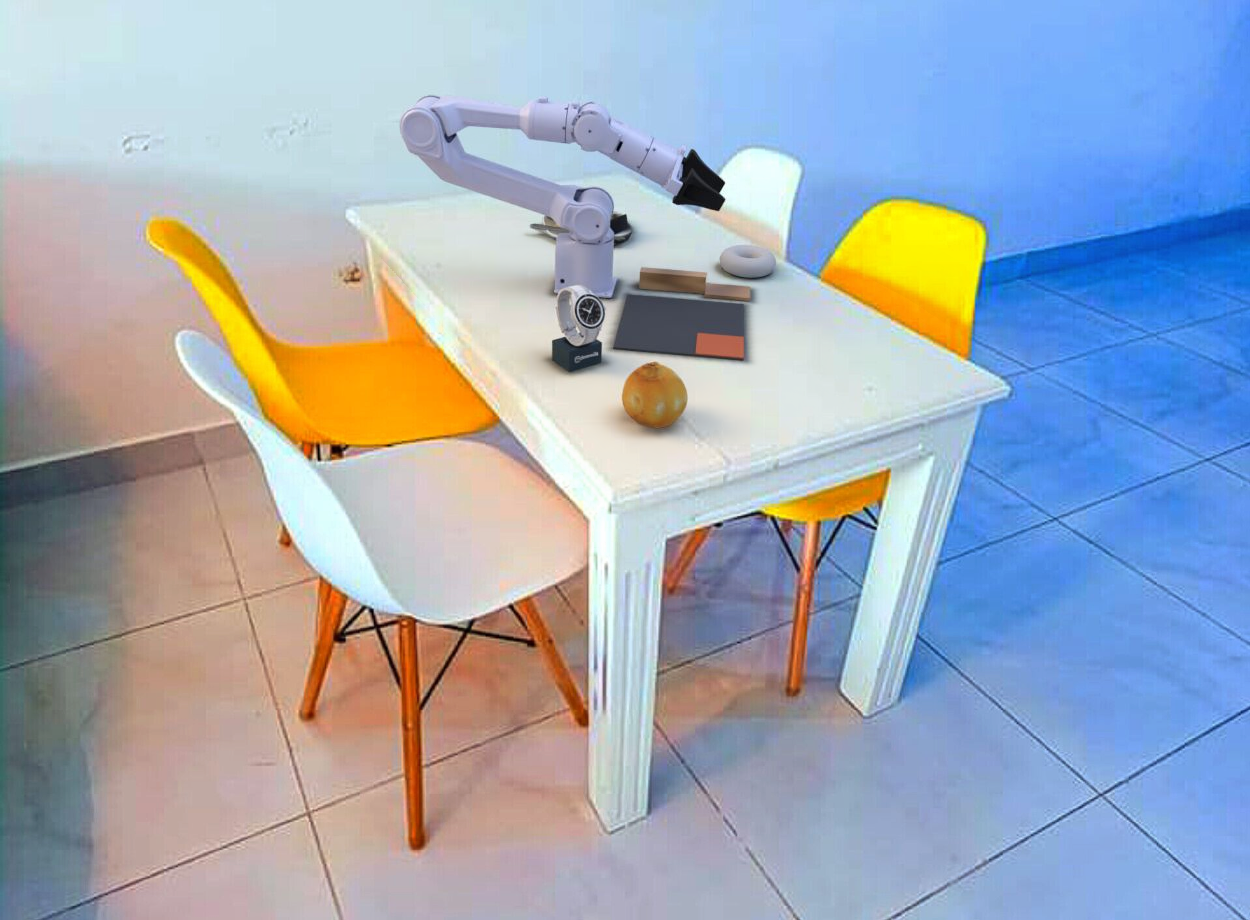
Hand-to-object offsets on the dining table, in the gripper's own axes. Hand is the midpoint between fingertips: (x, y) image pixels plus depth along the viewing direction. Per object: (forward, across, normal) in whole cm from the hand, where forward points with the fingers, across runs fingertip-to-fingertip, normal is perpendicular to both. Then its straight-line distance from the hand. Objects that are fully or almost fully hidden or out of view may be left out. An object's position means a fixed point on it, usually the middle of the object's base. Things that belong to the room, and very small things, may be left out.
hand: (722, 196), depth 143 cm
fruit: (-1, -42, +17) cm, 46 cm away
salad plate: (-14, +26, +26) cm, 39 cm away
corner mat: (+2, -14, +16) cm, 22 cm away
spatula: (+4, +1, +16) cm, 17 cm away
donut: (+13, +12, +13) cm, 22 cm away
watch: (-11, -28, +22) cm, 37 cm away
